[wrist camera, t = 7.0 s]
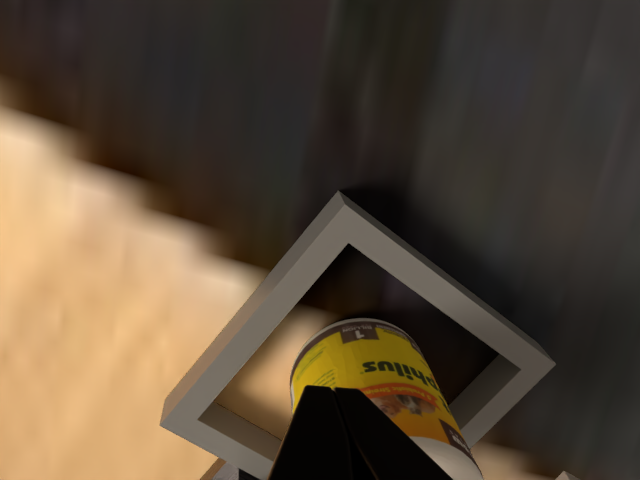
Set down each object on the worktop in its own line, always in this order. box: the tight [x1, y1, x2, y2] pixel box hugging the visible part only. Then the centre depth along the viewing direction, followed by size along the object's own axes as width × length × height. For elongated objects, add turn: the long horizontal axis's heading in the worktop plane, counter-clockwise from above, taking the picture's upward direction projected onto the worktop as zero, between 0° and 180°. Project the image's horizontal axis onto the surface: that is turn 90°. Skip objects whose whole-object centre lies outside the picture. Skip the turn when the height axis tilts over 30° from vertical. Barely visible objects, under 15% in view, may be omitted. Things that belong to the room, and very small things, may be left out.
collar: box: [160, 191, 556, 480], centre depth 24 cm, size 11×11×2 cm
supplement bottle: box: [290, 318, 484, 480], centre depth 20 cm, size 6×6×10 cm
